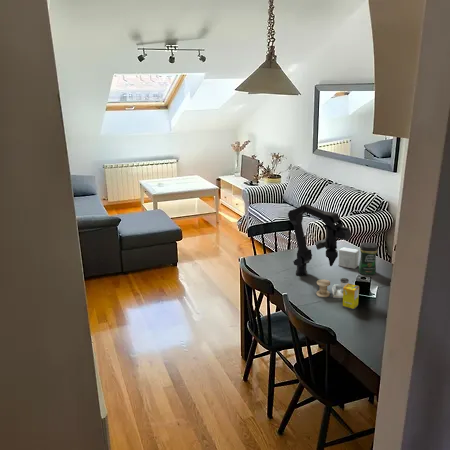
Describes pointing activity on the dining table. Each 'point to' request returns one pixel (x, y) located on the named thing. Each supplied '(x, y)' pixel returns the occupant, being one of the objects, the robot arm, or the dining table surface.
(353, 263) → the skincare box
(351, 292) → the supplement box
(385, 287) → the dining table surface
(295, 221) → the robot arm
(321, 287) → the spool
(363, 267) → the coffee jar
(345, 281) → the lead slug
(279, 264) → the dining table surface
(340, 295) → the white rectangular tray
